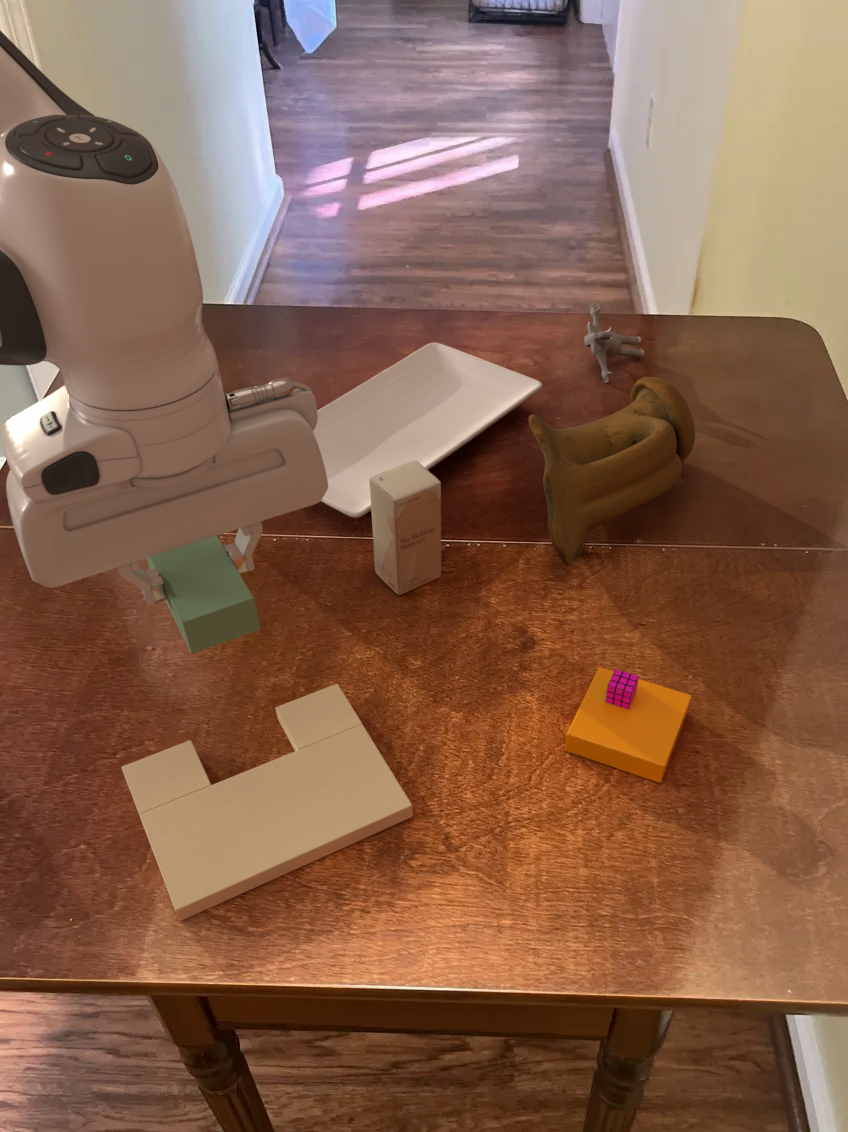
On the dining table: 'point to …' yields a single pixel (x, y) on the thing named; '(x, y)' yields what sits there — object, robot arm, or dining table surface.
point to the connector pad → (206, 594)
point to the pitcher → (612, 462)
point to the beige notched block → (265, 805)
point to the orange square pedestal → (628, 723)
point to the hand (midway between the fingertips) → (198, 582)
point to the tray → (411, 418)
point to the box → (406, 526)
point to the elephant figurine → (608, 343)
